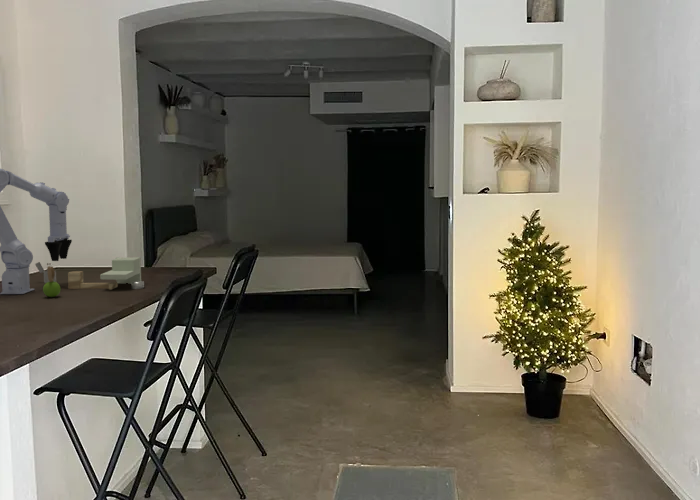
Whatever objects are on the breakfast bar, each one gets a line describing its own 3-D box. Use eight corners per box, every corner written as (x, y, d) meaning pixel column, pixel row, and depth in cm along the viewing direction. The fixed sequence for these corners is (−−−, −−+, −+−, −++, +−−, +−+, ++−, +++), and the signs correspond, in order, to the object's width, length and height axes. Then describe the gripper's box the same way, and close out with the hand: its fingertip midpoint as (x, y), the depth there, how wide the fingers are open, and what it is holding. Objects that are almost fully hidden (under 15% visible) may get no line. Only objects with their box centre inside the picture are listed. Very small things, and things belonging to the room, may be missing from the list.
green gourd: (41, 299, 211) (39, 263, 210) (44, 296, 217) (43, 261, 216) (58, 298, 213) (57, 263, 211) (62, 295, 219) (60, 260, 218)
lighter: (56, 281, 249) (55, 261, 249) (55, 282, 248) (54, 262, 247) (37, 282, 248) (36, 261, 247) (35, 282, 246) (34, 262, 246)
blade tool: (111, 289, 232) (111, 273, 232) (66, 289, 231) (66, 273, 231) (117, 286, 239) (117, 270, 239) (74, 286, 238) (73, 270, 238)
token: (142, 289, 234) (142, 282, 234) (130, 289, 234) (129, 282, 233) (145, 287, 238) (145, 280, 238) (133, 287, 238) (133, 280, 238)
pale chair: (126, 291, 229) (125, 263, 228) (100, 291, 228) (100, 263, 228) (141, 282, 248) (140, 257, 247) (117, 282, 248) (117, 257, 247)
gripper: (61, 224, 230) (62, 262, 231) (76, 222, 245) (77, 257, 246) (41, 224, 230) (42, 262, 231) (57, 222, 244) (58, 257, 246)
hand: (59, 259), depth 238 cm, fingers open, 7 cm apart
